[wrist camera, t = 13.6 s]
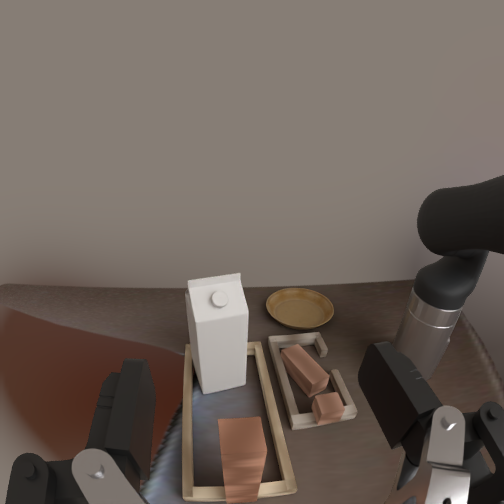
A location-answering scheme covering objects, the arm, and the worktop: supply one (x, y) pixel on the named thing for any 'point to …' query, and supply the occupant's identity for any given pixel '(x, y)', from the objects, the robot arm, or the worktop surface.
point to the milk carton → (218, 331)
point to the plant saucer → (299, 308)
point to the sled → (238, 446)
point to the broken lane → (309, 381)
